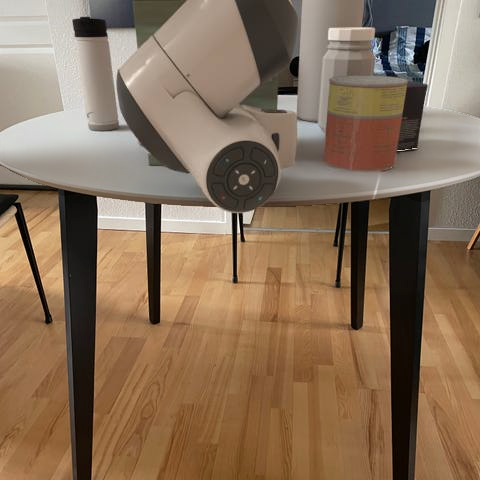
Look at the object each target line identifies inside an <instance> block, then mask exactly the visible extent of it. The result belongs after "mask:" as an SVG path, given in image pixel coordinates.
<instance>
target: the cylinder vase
mask: <svg viewBox="0 0 480 480" xmlns="http://www.w3.org/2000/svg"><path fill="white" fill-rule="evenodd" d="M301 1H302V2H301V3H302V4H301V17H300V19H301V20H300V39H299V41H300V42H299V56H298V57H299V58H298V59H299V61H298V77H297V78H298V79H297V100H296V115H297V119H299V120H302V121H305V122H311V123H318V118H319V104H320V90H321V76H322V62H323V56H324V55H325V54H326V52H327V51H328V50H329V49H328V48H327V46H328V45H330V40H328V31H329V28H347V27H363V19H364V9H365V2H366V1H365V0H301Z"/></svg>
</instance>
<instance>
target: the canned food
mask: <svg viewBox="0 0 480 480" xmlns="http://www.w3.org/2000/svg"><path fill="white" fill-rule="evenodd" d="M408 81H409V80H408V79H407V78H402V77H399V76H398V77H397V76H387V75H373V76H340V77H333V78H330V79H329V82H330V85H329V98H328V110H327V122H326V133H325V135H324V136H325V137H324V147H323V159H322V163H323V164H324V165H325V166H327V167H330V168H332V169H335V170H340V171H345V172H355V173H356V172H357V173H358V172H359V173H372V172H373V173H375V172H384V171H383V170H385V171H388V170H387V169H389V168H391V167H393V166H394V165H395V166H396V158H397V153H398V152H397V146H398V139H399V133H400V126H401V120H402V113H403V107H404V101H405V94H406V88H407V83H408ZM395 166H394V167H395ZM394 167H393V168H394ZM389 170H390V169H389Z"/></svg>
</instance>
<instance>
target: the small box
mask: <svg viewBox="0 0 480 480" xmlns="http://www.w3.org/2000/svg"><path fill="white" fill-rule="evenodd" d="M428 87H429V84H428V83H422V82H416V81H411V80H408V83H407V88H406V94H405V101H404V107H403V113H402V120H401V126H400V133H399V139H398V146H397V150H405V149H412V148H417V149H418V146H419V137H420V132H421V126H422V120H423V114H424V108H425V102H426V96H427V92H428Z"/></svg>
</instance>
